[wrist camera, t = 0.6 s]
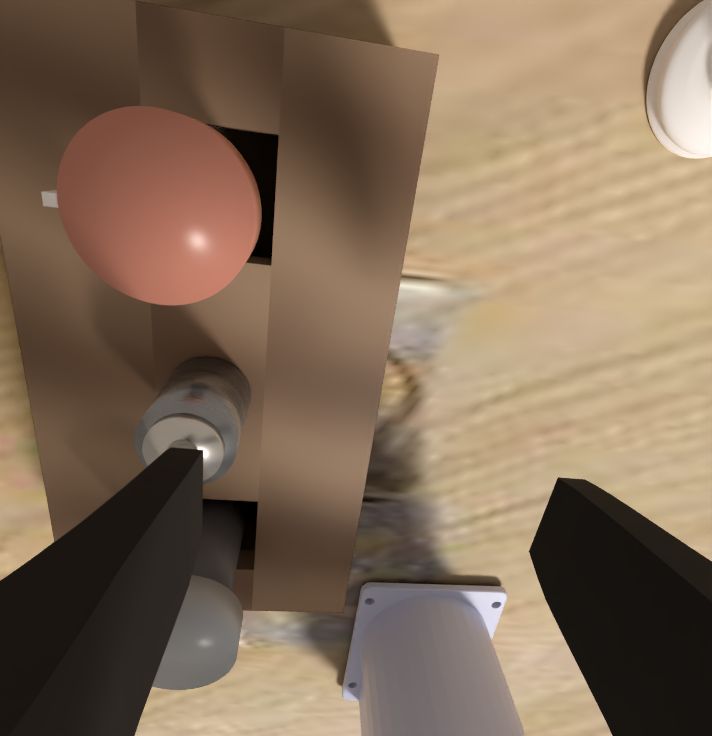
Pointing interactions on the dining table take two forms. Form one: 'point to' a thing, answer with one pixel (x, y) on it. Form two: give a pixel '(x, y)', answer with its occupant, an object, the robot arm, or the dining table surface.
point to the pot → (197, 414)
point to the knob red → (157, 204)
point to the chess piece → (684, 86)
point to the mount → (245, 292)
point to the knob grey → (207, 606)
